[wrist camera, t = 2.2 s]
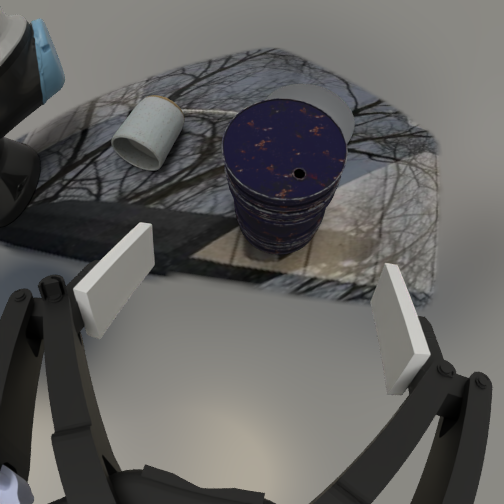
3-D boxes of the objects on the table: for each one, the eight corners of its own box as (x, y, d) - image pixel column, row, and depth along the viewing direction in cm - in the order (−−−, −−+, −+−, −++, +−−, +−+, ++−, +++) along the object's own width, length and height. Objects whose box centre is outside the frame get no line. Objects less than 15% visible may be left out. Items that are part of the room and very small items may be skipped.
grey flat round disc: (245, 105, 41) (244, 98, 40) (321, 82, 42) (323, 75, 41) (287, 174, 38) (288, 168, 37) (369, 143, 39) (372, 136, 38)
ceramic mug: (193, 128, 41) (180, 91, 33) (168, 176, 39) (148, 143, 32) (133, 118, 42) (115, 86, 35) (108, 162, 40) (83, 133, 33)
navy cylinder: (227, 192, 38) (206, 114, 23) (301, 169, 38) (316, 87, 24) (252, 267, 35) (243, 220, 21) (332, 240, 36) (370, 181, 21)
